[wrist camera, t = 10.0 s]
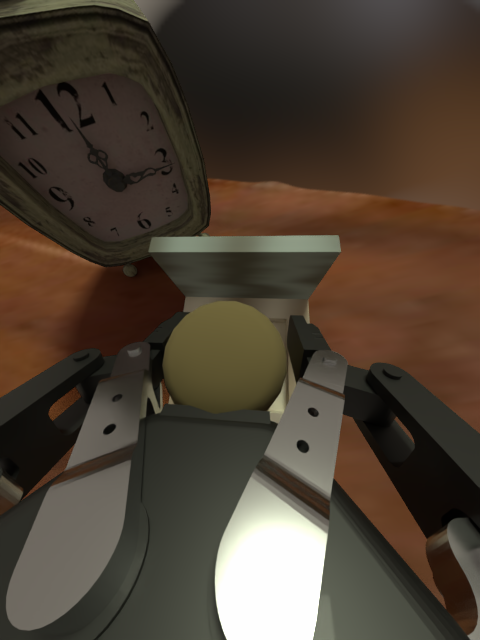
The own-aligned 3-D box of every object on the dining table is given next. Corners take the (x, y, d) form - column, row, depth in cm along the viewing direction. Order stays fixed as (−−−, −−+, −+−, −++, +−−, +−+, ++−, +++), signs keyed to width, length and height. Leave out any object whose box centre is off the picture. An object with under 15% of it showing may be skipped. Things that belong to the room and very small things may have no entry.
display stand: (297, 304, 22) (338, 235, 11) (302, 430, 18) (375, 508, 7) (199, 302, 23) (151, 237, 12) (183, 420, 19) (92, 475, 8)
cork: (224, 413, 16) (162, 496, 5) (200, 350, 18) (117, 317, 7) (286, 383, 16) (345, 405, 6) (256, 324, 18) (258, 254, 7)
